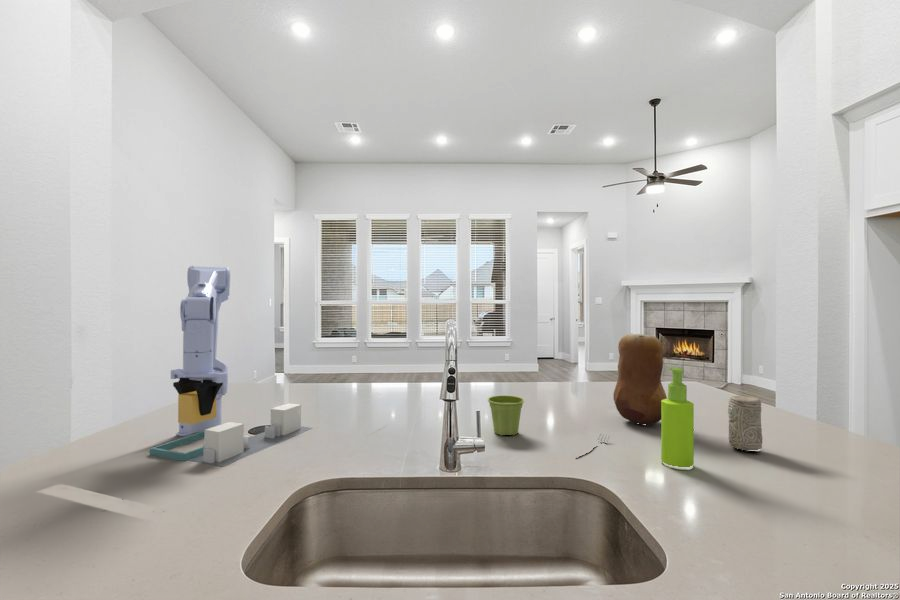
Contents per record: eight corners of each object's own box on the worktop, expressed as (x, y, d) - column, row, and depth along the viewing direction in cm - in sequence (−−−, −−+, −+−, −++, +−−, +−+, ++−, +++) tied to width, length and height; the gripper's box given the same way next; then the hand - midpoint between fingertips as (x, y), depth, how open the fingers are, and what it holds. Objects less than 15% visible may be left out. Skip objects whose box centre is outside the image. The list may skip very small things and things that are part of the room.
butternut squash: (670, 421, 120) (670, 333, 120) (664, 433, 109) (665, 336, 109) (618, 414, 127) (618, 331, 127) (608, 425, 116) (608, 333, 116)
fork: (569, 459, 92) (569, 449, 92) (600, 441, 104) (599, 433, 104) (581, 462, 90) (581, 452, 90) (610, 443, 102) (610, 435, 102)
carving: (764, 449, 97) (764, 397, 97) (759, 458, 92) (759, 402, 92) (731, 443, 102) (731, 393, 102) (725, 451, 96) (725, 398, 96)
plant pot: (482, 436, 106) (482, 401, 106) (493, 425, 115) (493, 393, 115) (519, 440, 103) (519, 404, 103) (527, 429, 111) (527, 396, 111)
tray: (149, 461, 88) (149, 448, 88) (208, 441, 101) (209, 429, 101) (184, 468, 85) (184, 454, 85) (240, 446, 98) (241, 434, 98)
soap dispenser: (689, 460, 90) (689, 366, 90) (696, 472, 84) (696, 371, 84) (658, 456, 92) (658, 364, 92) (663, 468, 86) (663, 369, 86)
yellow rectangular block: (178, 422, 91) (178, 394, 91) (203, 415, 96) (203, 389, 96) (191, 424, 89) (192, 395, 89) (216, 417, 95) (216, 390, 95)
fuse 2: (270, 433, 102) (270, 408, 102) (288, 426, 108) (288, 403, 108) (283, 435, 101) (284, 410, 101) (300, 428, 107) (300, 404, 107)
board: (188, 467, 85) (188, 448, 85) (284, 429, 110) (284, 414, 110) (222, 474, 82) (222, 453, 82) (312, 433, 107) (312, 418, 107)
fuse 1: (204, 459, 86) (204, 429, 86) (229, 449, 91) (229, 421, 91) (219, 462, 84) (219, 431, 84) (243, 452, 90) (243, 423, 90)
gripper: (157, 352, 92) (156, 414, 92) (206, 355, 87) (206, 421, 87) (187, 348, 98) (187, 407, 98) (234, 351, 93) (234, 413, 93)
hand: (197, 413), depth 93 cm, fingers closed on yellow rectangular block, 4 cm apart
